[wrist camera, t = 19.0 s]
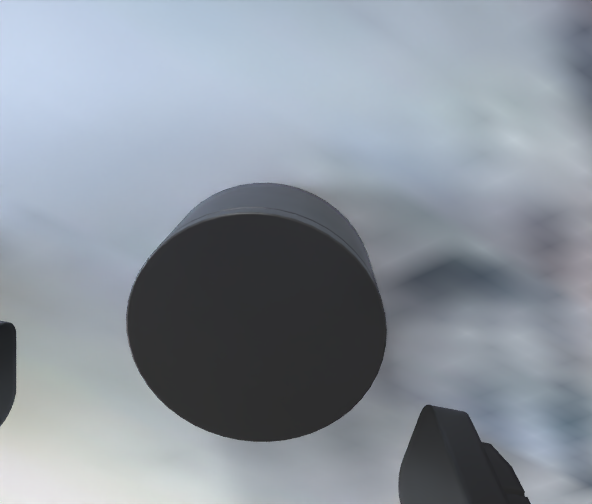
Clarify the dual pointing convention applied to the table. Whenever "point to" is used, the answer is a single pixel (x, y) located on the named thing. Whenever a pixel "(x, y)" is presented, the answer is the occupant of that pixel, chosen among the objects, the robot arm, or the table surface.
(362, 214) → the table surface
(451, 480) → the robot arm
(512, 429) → the table surface
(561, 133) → the table surface
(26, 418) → the table surface
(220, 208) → the lid
